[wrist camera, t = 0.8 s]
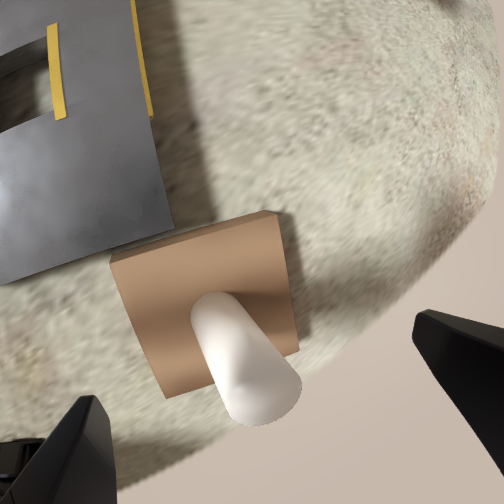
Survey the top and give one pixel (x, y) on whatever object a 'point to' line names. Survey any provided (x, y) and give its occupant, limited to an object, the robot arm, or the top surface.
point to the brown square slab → (204, 292)
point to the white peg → (243, 361)
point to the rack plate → (77, 137)
